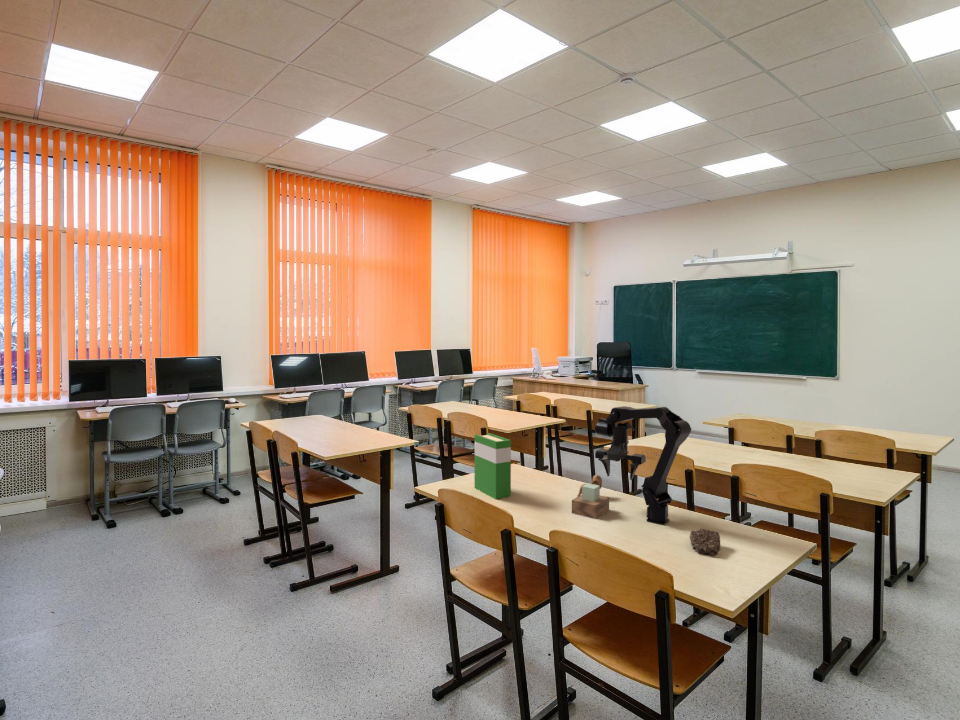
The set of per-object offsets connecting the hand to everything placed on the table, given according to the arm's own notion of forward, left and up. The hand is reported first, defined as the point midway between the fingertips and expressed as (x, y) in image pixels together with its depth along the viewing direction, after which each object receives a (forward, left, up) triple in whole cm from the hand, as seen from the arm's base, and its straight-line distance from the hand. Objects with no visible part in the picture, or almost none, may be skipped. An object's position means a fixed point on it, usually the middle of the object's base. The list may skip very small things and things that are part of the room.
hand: (619, 478), depth 205 cm
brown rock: (-37, +20, -12) cm, 44 cm away
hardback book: (+51, +14, -12) cm, 55 cm away
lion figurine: (+15, -4, -12) cm, 19 cm away
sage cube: (+7, +11, -7) cm, 15 cm away
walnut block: (+7, +11, -12) cm, 18 cm away
